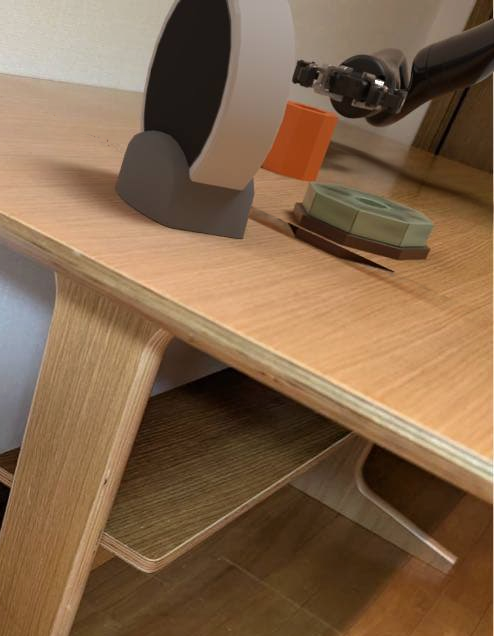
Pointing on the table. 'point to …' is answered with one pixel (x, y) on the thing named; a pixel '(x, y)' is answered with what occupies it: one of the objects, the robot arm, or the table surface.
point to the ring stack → (360, 224)
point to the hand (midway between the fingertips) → (337, 86)
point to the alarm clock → (210, 113)
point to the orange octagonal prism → (301, 142)
